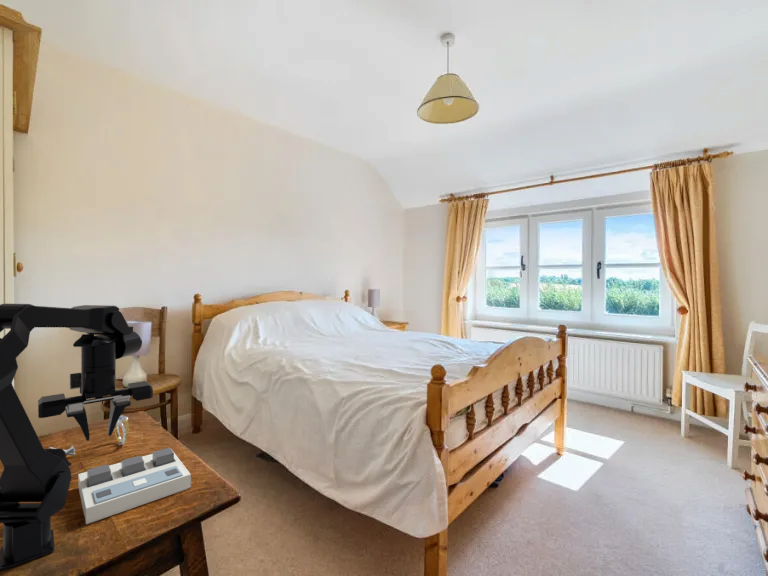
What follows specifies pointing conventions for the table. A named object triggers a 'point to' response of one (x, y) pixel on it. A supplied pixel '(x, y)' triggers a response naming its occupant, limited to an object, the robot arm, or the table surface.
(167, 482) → the button board
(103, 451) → the table surface
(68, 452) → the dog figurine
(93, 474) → the button left
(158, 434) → the table surface
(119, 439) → the ring
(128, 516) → the table surface
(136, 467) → the button middle
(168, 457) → the button right
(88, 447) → the table surface
